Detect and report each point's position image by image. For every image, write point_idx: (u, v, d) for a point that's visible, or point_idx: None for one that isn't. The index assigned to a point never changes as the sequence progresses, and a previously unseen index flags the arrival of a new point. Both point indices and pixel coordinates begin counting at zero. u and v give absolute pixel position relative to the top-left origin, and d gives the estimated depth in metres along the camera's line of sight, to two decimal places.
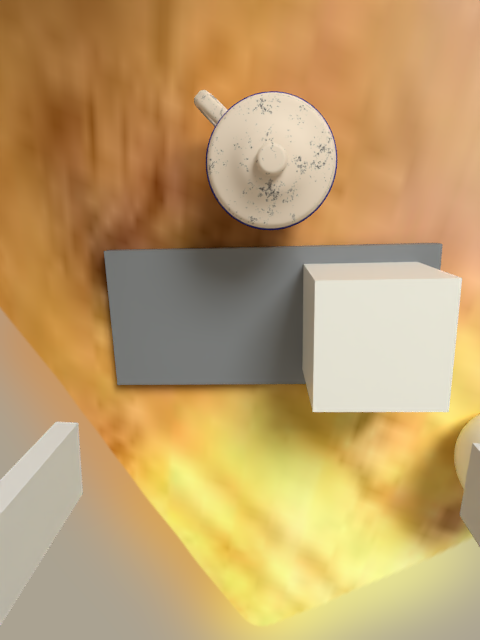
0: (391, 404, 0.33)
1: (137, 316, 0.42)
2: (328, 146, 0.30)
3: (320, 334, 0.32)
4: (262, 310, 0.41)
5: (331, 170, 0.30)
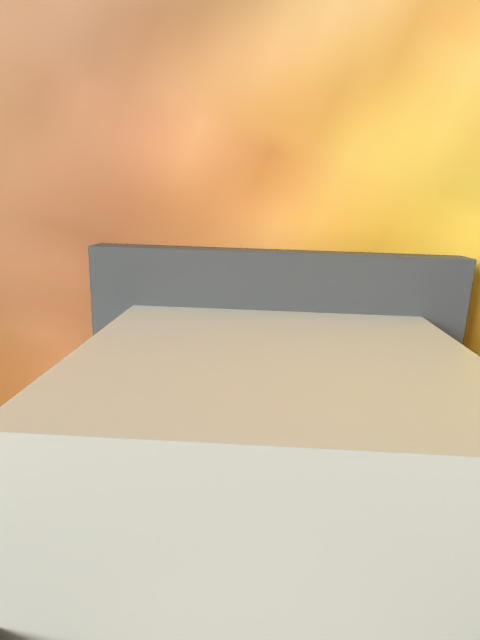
0: None
1: None
2: None
3: None
4: None
5: None
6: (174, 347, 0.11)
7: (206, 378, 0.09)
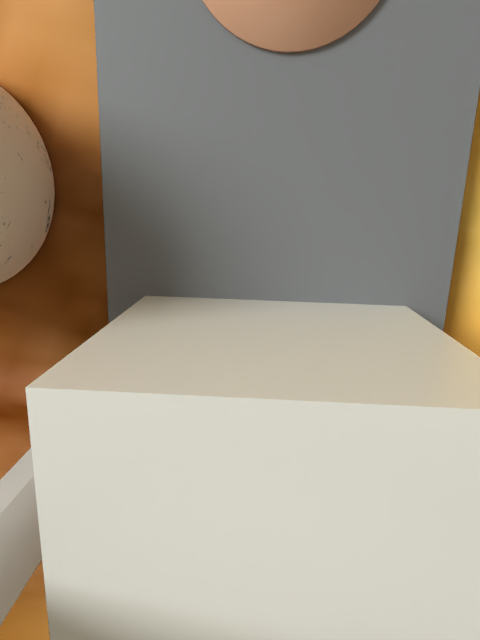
0: None
1: None
2: None
3: None
4: (257, 211, 0.16)
5: None
6: (185, 329, 0.13)
7: (214, 353, 0.11)
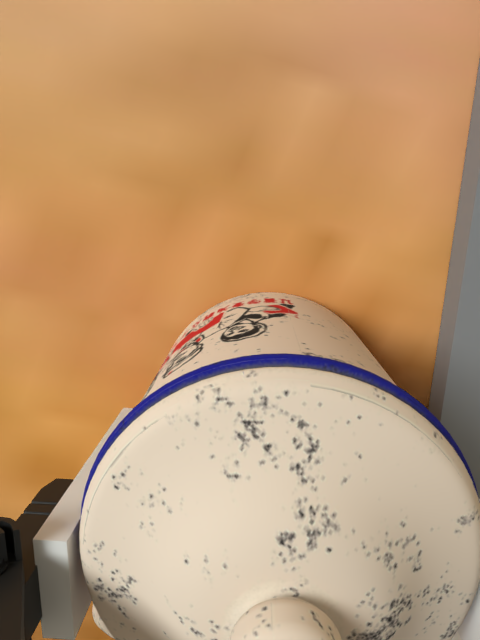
0: None
1: None
2: (244, 404, 0.08)
3: None
4: None
5: (324, 392, 0.08)
6: None
7: None
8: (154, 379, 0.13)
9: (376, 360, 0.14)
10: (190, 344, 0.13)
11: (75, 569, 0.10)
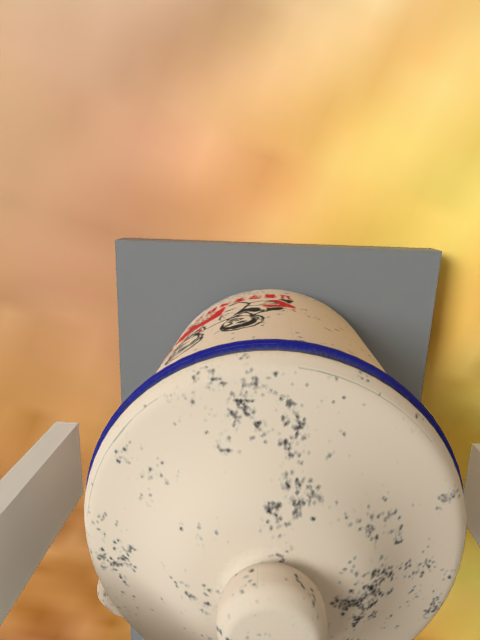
0: None
1: None
2: (236, 384, 0.09)
3: None
4: None
5: (311, 374, 0.09)
6: None
7: None
8: (158, 368, 0.14)
9: (371, 353, 0.14)
10: (192, 335, 0.14)
11: None
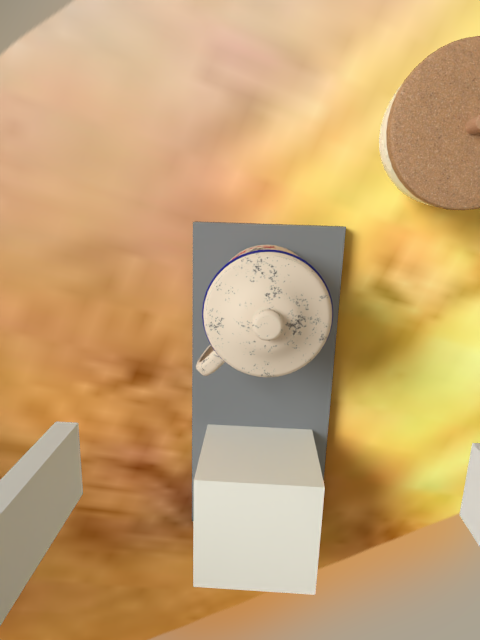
0: (312, 534, 0.35)
1: None
2: (255, 261, 0.29)
3: (241, 585, 0.36)
4: (252, 394, 0.42)
5: (278, 257, 0.29)
6: (228, 450, 0.38)
7: (239, 464, 0.36)
8: None
9: None
10: None
11: None
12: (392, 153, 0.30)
